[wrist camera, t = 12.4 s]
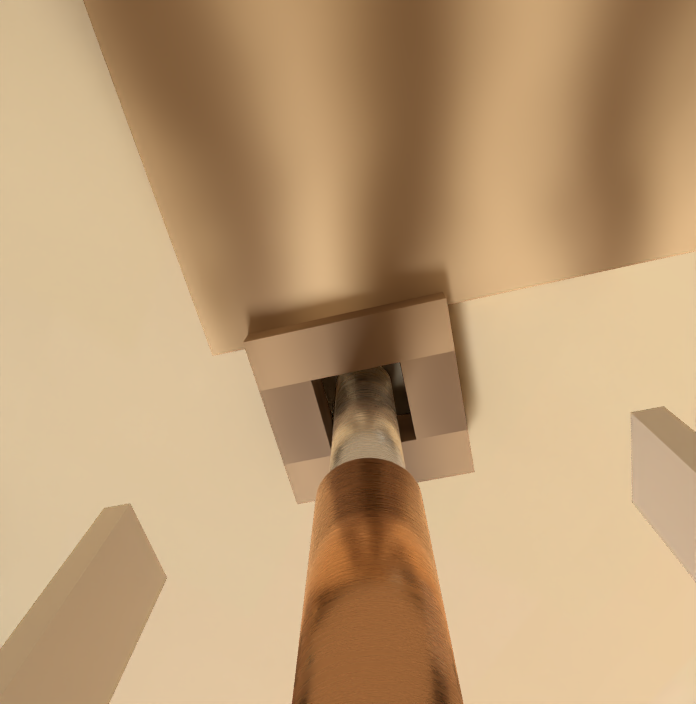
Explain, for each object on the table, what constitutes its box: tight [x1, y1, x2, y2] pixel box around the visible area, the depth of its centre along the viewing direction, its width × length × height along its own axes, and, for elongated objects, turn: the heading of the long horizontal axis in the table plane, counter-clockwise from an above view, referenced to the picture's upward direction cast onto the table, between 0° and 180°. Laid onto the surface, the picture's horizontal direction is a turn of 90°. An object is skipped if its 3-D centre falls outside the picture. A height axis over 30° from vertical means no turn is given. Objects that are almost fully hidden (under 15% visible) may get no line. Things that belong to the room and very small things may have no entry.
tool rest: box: [243, 292, 474, 504], centre depth 18 cm, size 7×7×2 cm
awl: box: [292, 366, 463, 704], centre depth 13 cm, size 3×3×13 cm
